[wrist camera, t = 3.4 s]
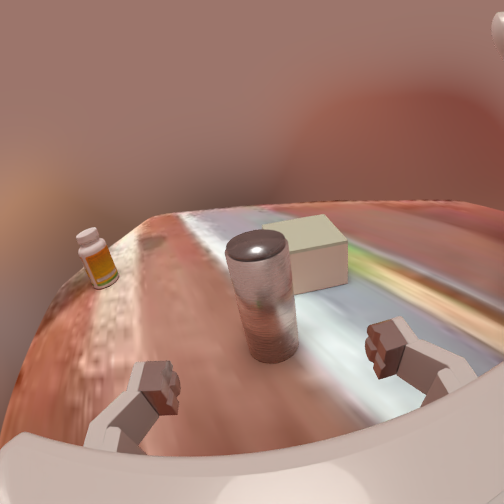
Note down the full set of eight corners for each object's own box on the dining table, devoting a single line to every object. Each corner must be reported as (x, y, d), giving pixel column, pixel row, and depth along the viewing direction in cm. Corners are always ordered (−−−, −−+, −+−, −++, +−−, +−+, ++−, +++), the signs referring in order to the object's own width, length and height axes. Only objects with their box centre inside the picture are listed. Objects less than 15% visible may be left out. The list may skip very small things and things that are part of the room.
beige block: (326, 251, 42) (324, 214, 39) (347, 283, 34) (347, 240, 31) (268, 262, 42) (261, 225, 39) (277, 298, 34) (270, 254, 31)
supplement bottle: (124, 273, 47) (105, 223, 42) (107, 290, 42) (85, 238, 38) (105, 273, 48) (86, 226, 44) (88, 289, 44) (66, 240, 39)
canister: (293, 323, 29) (281, 224, 24) (303, 357, 25) (293, 250, 20) (247, 332, 29) (224, 235, 24) (250, 367, 25) (223, 263, 20)
